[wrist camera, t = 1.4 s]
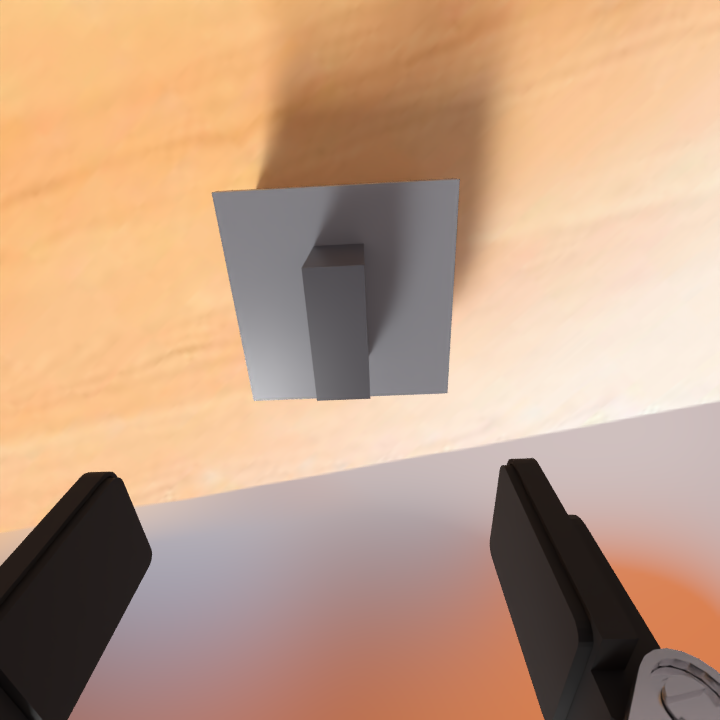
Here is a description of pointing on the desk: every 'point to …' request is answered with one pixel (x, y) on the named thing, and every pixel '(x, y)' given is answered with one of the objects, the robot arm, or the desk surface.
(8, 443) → the desk surface
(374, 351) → the lid
